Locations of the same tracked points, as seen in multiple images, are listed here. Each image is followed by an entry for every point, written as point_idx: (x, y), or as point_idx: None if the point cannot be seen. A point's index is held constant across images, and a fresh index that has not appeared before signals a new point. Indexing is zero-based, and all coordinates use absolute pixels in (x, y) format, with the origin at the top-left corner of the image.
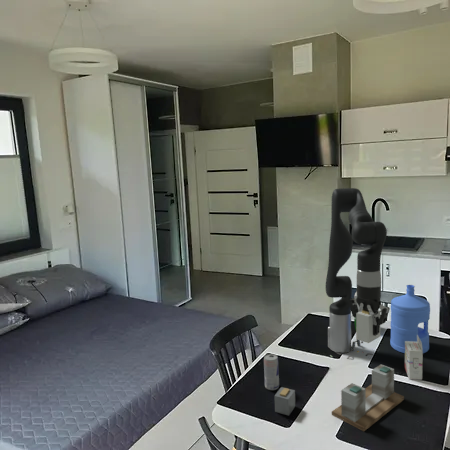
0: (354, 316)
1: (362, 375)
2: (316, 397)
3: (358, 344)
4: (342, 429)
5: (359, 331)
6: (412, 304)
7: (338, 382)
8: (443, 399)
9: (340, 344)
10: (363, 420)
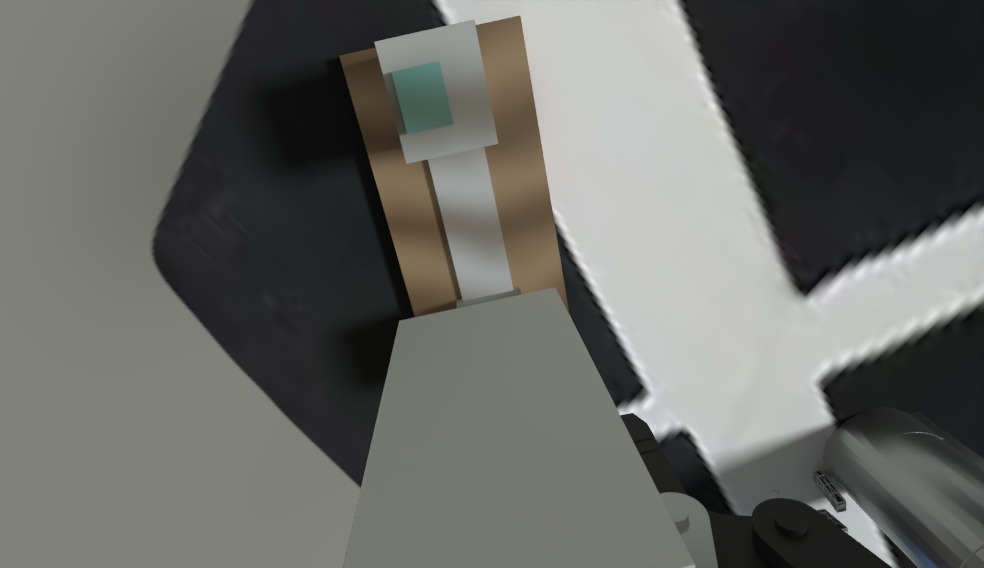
0: (764, 513)
1: (656, 367)
2: (668, 59)
3: (824, 515)
4: None
5: (529, 346)
6: None
7: (687, 243)
8: (360, 480)
9: (874, 447)
10: (385, 100)
